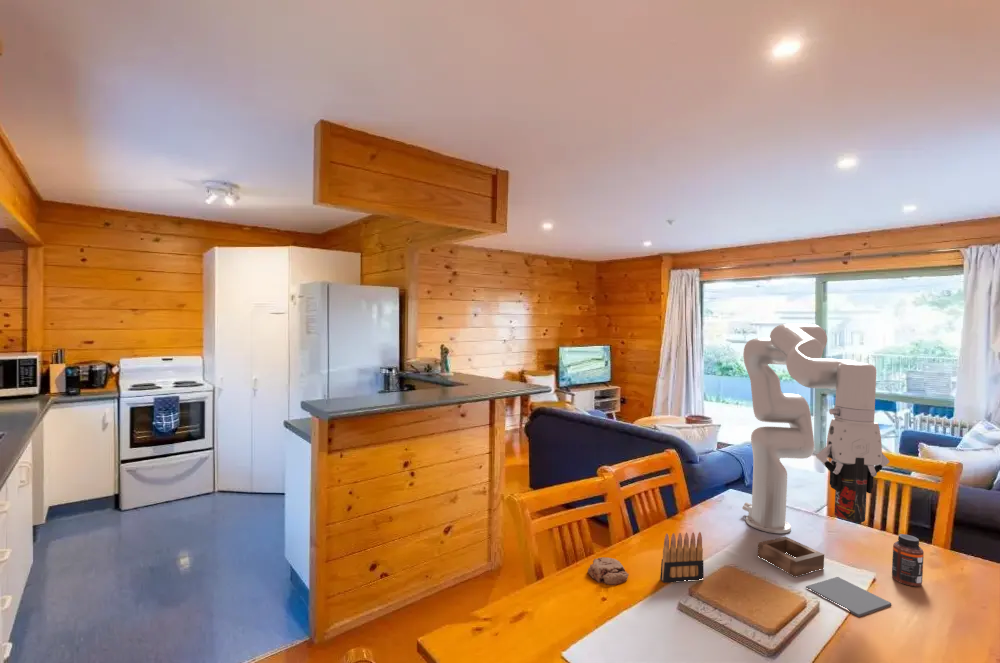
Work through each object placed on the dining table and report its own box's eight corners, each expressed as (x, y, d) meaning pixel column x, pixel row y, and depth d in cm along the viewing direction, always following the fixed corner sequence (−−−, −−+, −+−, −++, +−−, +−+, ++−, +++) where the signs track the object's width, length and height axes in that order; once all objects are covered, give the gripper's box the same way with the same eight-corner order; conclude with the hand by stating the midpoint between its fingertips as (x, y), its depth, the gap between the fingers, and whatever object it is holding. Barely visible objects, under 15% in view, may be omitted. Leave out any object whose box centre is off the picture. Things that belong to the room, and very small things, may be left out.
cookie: (622, 564, 128) (622, 553, 128) (632, 587, 117) (632, 575, 117) (584, 563, 128) (584, 552, 128) (591, 585, 117) (591, 573, 117)
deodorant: (871, 521, 112) (874, 457, 112) (850, 522, 111) (853, 458, 111) (848, 511, 118) (851, 450, 118) (828, 512, 117) (831, 451, 116)
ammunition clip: (663, 583, 119) (665, 535, 119) (660, 579, 121) (661, 531, 120) (703, 580, 121) (705, 533, 120) (699, 576, 122) (701, 530, 122)
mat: (805, 588, 118) (806, 586, 118) (837, 579, 123) (837, 576, 123) (858, 617, 107) (858, 614, 107) (891, 605, 112) (891, 603, 112)
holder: (757, 556, 133) (757, 542, 133) (784, 550, 138) (785, 536, 137) (795, 577, 123) (796, 561, 123) (823, 569, 127) (824, 554, 127)
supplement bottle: (928, 589, 119) (930, 544, 119) (900, 586, 120) (902, 541, 120) (912, 576, 125) (914, 533, 125) (886, 573, 126) (888, 530, 126)
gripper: (823, 416, 111) (820, 493, 112) (905, 420, 109) (901, 498, 110) (807, 410, 119) (804, 482, 119) (883, 413, 117) (880, 487, 117)
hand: (850, 489), depth 114 cm, fingers closed on deodorant, 6 cm apart
